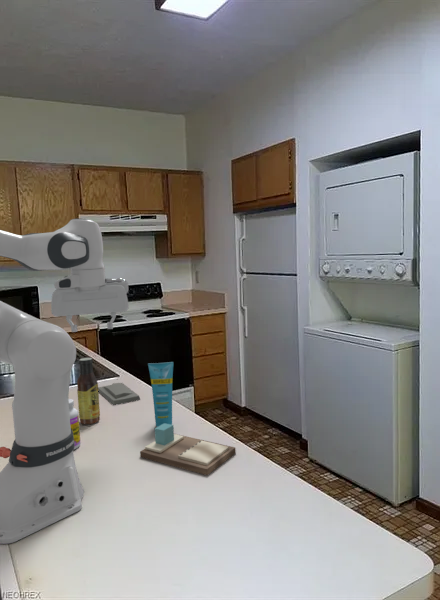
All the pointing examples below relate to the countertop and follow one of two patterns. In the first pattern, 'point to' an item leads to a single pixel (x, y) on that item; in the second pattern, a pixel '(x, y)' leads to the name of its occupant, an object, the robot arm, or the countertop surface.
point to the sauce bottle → (88, 393)
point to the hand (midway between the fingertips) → (92, 330)
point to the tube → (162, 391)
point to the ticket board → (192, 455)
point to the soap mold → (118, 393)
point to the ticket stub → (164, 438)
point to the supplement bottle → (74, 423)
